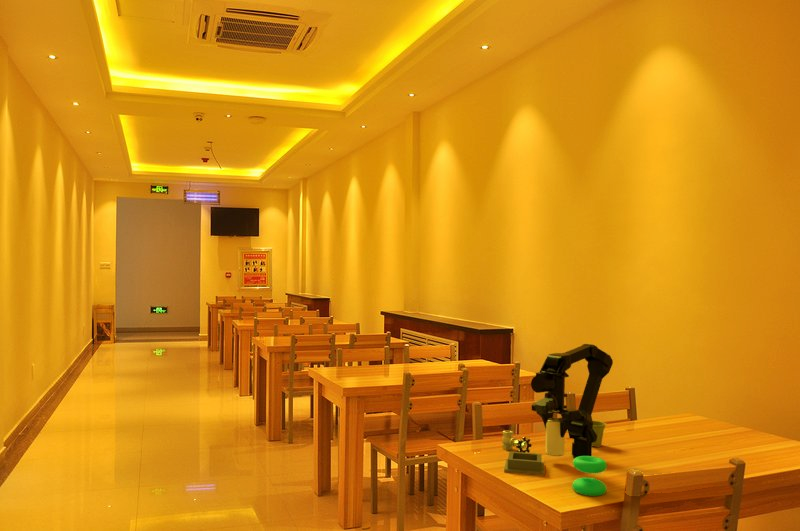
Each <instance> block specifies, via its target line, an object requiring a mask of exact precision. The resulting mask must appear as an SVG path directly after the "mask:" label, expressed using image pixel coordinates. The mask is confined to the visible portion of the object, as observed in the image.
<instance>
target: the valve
mask: <svg viewBox="0 0 800 531" xmlns="http://www.w3.org/2000/svg"><path fill="white" fill-rule="evenodd" d="M513 436H514V432H513V430H512V431H511V430H503V431H502V440H501V441H502V449H503V450H504V451H505V450H506V451H511V450H513V449H514V448H513V447H515V448H516V449H518V450H517V452H523V453H531V449H529V448H531V447H532V445H533V444H531V443H530V442H531V439H530V438H527V437H525V436H522V438H521V439H517V438H514V437H513Z"/></svg>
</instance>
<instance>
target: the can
mask: <svg viewBox="0 0 800 531" xmlns="http://www.w3.org/2000/svg"><path fill="white" fill-rule="evenodd" d="M558 418H559V417H557V418H556V417H553V418H549V419H547V420H548V421H547V423H546V429H545V454H546V455H547V456H552V457H562V456H564V455H565V446H566V445H565V444H566V442H565V441H566V434H565V435H564V437H561V434H560V421H559V420H558Z"/></svg>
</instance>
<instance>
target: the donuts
mask: <svg viewBox="0 0 800 531" xmlns="http://www.w3.org/2000/svg"><path fill="white" fill-rule="evenodd" d="M572 464H573V466H574V468H575V469H576V470H578V471H579V472H582V473H586V474H600V473H603V472H605V471H606V469H607V467H608V463H607V462H606V460H605V459H603V458H602V457H598V456H593V455H592V456H579V457H576V458H573V461H572ZM571 487H572V489H573V490H574V492H576V493H577V494H580V495H583V496H588V495H589V497H597V496H603V495H604V494H605V493H606V492H607V486H606V484H605V482H603V481H602V480H599V479H598V478H593V477H579V478H576V479H575V480H573V482H572V486H571Z"/></svg>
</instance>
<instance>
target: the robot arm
mask: <svg viewBox="0 0 800 531" xmlns="http://www.w3.org/2000/svg"><path fill="white" fill-rule="evenodd" d="M582 360H584V361H586V362H587V365H586V366H587V371H588V376H587V381H586V383H585V386H584V389H583V393H582V396H581V399H580V402H579V406H578V408H577V409H576V408H568V406H567V405H565V398H567V397H568V394H567V393H565V392H566V391H565V386H566V378H569V377H570V376H569V374H568V373H567V371H568V370H569V369H570V368H572V365H573V364H575V363H578V362H580V361H582ZM613 362H614V361H613V359H612V357H611V355H610V354H609V353H607V352H605V351H603V350H602V349H600V348H598V346H597V345H595V344H593V343H592V344H589V343H583V344H581V345H580V346H578V347H575V348H573V349H570V350H568V351H566V352H555V353H549V354H548V355H547V356H546V358H545V360H544V362H543V364H542V366H541V368H540V369H539V372H535V376H533V377H532V379H531V382H530V386H531V389H532V391H533V392H534V393H537V394H540V393H544V397H543V398H541V399H538V400H537V401H535V402H533V403H532V404H531V411H533V412H535V413H536V414H537V415H539V417H540V418H541V420H542V421H543V425H544V428H545V430H546V423H547V421H548V420H547V419H549V418H554V414H558V415H560V417H557V418H558V420H559V421H560V434H561V437H564V435H565V436H566V433H567V432H568V438H569V439H572V440H573V442H571V455H572V456H573V459H575V458H576V457H579V456H593V455H592V454H593V452H592V449H593V448H592V447H593V446H592V443H594V442H596V440H597V435H596V433H595V432H594V430H593V429H592V428H593V421H594V420H593V416H592V413H593V412H594V411H593V410H594V408H595V405H596V402H597V398H598V394H599V391H600V387H601V385H602V381H603V379H604V378H605V377H606V376H607V375H608V374H609V373H610V370H611V368H612V367H613Z"/></svg>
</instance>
